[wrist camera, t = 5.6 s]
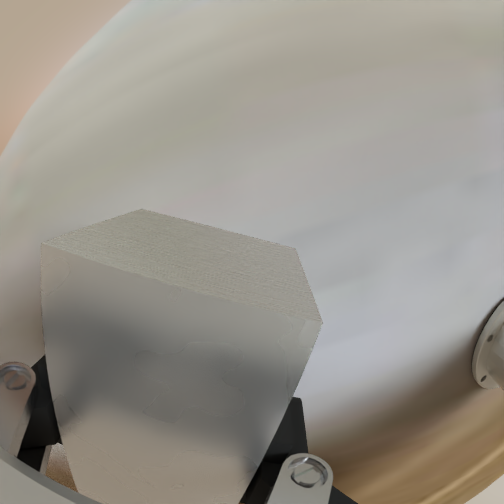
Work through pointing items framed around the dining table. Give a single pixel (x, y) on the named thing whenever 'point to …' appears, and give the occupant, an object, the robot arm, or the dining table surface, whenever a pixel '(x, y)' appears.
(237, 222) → the dining table surface
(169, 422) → the light grey block
